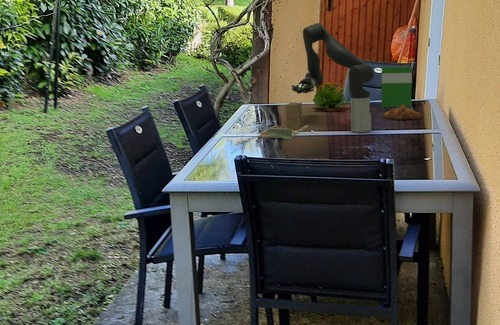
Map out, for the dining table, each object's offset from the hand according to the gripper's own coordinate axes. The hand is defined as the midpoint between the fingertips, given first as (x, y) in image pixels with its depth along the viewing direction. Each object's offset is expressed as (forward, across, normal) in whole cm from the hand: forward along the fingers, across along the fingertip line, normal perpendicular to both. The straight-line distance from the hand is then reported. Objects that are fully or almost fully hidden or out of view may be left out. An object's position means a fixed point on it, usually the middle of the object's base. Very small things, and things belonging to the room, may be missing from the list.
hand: (298, 91), depth 319 cm
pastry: (-29, -51, -19) cm, 62 cm away
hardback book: (-71, -44, -23) cm, 87 cm away
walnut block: (+9, 0, -18) cm, 20 cm away
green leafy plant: (-57, -7, -24) cm, 62 cm away
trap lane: (+18, +3, -18) cm, 25 cm away
